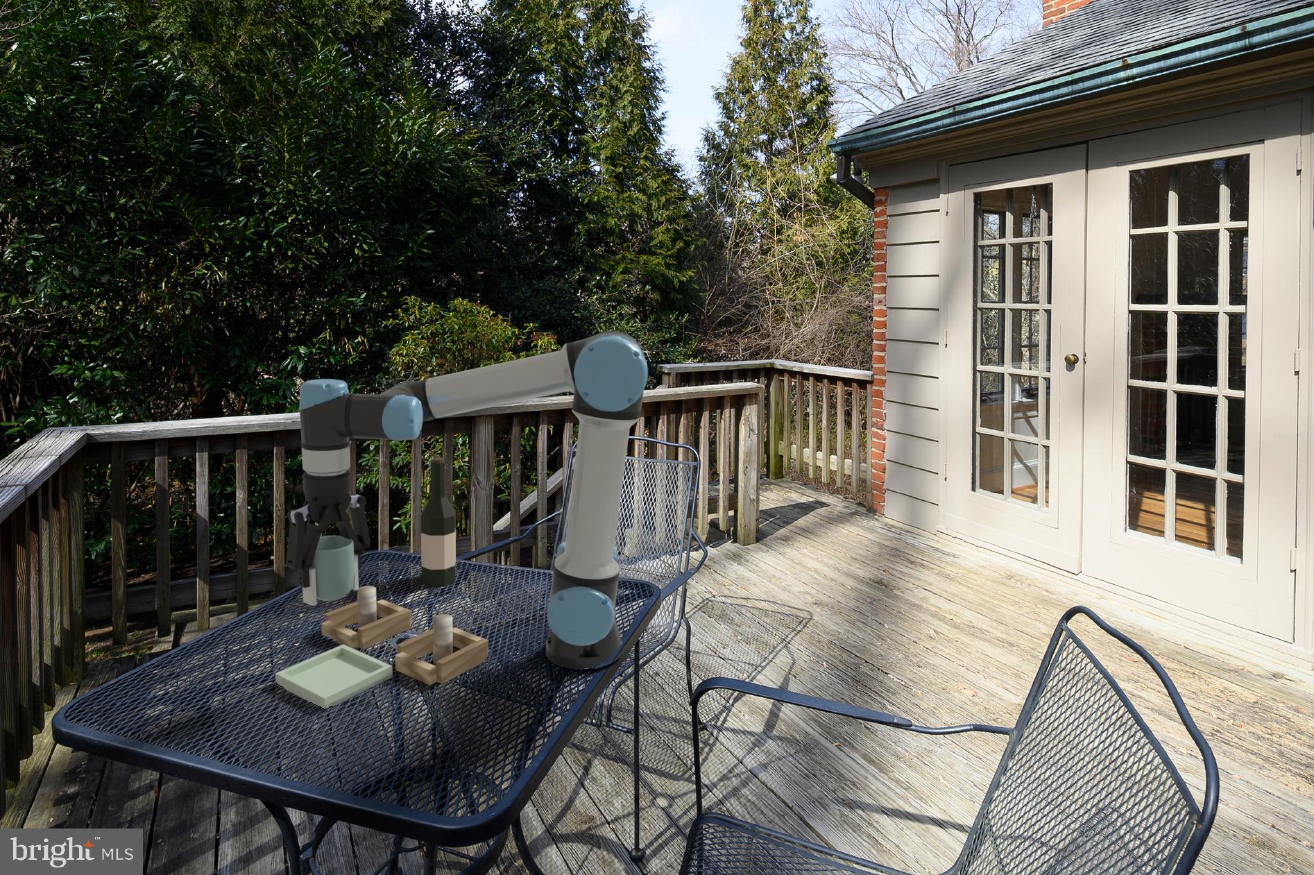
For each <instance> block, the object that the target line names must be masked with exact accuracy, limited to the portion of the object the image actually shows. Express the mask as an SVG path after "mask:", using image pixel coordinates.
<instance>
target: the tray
mask: <svg viewBox="0 0 1314 875" xmlns="http://www.w3.org/2000/svg"><path fill="white" fill-rule="evenodd" d="M274 674H275V677H274V678H275V683H276V682H277V683H278V684H280V685H281V686H283V687H284V688H285V689H286V691H288V692H289V693H291V694H293V695H295V696H296V697H299V698H301V699H303V700H304V701H306V700H307V701H306V702H308V703H310V702H312V703H313V704H312V703H311V704H312V705H314V704H316V705H318V706H321V707H322V708H324V709H325V708H328V707H329V706H333V707H334V706H337V705H339V704H341V703H344V701H347V700H350V699H351V698H353V697H355V696H358V695H360V694H361V693H363V692H365V691H367V690H369V689H371V688H373V687H375V686H377V685H379V684H381V683H384V682H385V681H387V680H389V679H392V678H393V665H390V664H389V663H387V662H384V661H382V660H379V659H377V658H375V657H372V656H371V655H368V654H366V653H364V652H361V651H359V650H357V649H353V648H350V647H348V646H346V645H344V644H343V645H338V646H336V647H334V648H332V649H329V650H327V651H324V652H322V653H320V654H317V655H315V656H313V657H310V658H308V659H306V660H303V661H301V662H298V663H297V664H294V665H291V666H289V667H287V668H285V669H283V670H279V671H278V672H275V673H274ZM285 689H284V690H285ZM316 705H315V706H316ZM318 706H317V707H318ZM322 708H321V709H322ZM324 709H323V710H324Z"/></svg>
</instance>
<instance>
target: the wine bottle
mask: <svg viewBox="0 0 1314 875" xmlns="http://www.w3.org/2000/svg"><path fill="white" fill-rule="evenodd" d="M456 527H457V526H456V509H455V508H454V507H453V505H452V504H451V502H450V501H449V499H448V497H447V495H446V461H444V458H443V457H433V458H432V461H430V498H429V499H428V500H427V502H426V505H425V506H424V508H423V510H422V512H421V513H420V543H421V544H420V550H421V551H420V554H421V555H420V556H421V562H420V564H421V584H424V585H426V586H429V587H446V586H448V585H450V584H451V585H452V584H454V583H455V582H456V579H455V576H456V575H457V571H456V570H457V569H456V568H457V566H456V565H457V561H456V560H457V557H456V554H457V552H456V551H457V548H456V544H457V543H456V540H457V539H456V537H457V536H456ZM456 577H457V576H456ZM454 581H455V582H454Z"/></svg>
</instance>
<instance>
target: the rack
mask: <svg viewBox="0 0 1314 875" xmlns="http://www.w3.org/2000/svg"><path fill="white" fill-rule="evenodd" d="M356 594H357V600H356V601H354V602H352V603H350V604H347V605H344V606H342V607H339V608H337V609H334V610H331V611H328V612H326V613H324V614H323V618H324V619H323V620H324V622H322V623H321V636H322V635H324V636H328V637H329V638H332V639H333V640H335V641H337V642H338V643H339V644H340V645H339V644H338V645H339V646H341V645H343V644H344V645H346V646H348V647H350V648H353V649H355V650H357V649H358V648H359V649H362V650H365V649H367V648H369V647H371V646H374V645H376V644H378V643H380V642H383V641H385V640H387V639H389V638H392V637H394V636H397V635H399V634H401V633H403V632H405V631H407V630H410V629H411V625H412V623H413V622H412V621H413V620H412V610H411V609H408V608H405V607H402V606H401V605H398V604H395V603H392V602H389V601H387V600H385V599H380V600H378V601H377V587H375V586H373V585H366V586H365V585H364V586H360V587H359V589H358V590H356ZM378 617H380V619H378ZM453 618H454V617H453V616H452V615H450V614H445V613H444V614H442V613H441V614H437V615H434V617H433V618H432V628H431V629H430V630H427V631H425V632H422V633H421V634H418V635H416V636H414V637H412V638H410V639H409V638H408V639H407V640H405V641H403V642H401V643H398V644H397V646H396V649H397V650H396V652H397V653H396V654H395V671H397V672H399V673H402V674H403V675H406V676H409V677H411V678H412V679H415V680H418V681H420V682H422V681H423V682H422V683H424V684H426V685H428V686H432V685H433V684H435V683H439V684H441V685H443V684H445V683H447V682H449V681H452V680H453V679H454V678H456V677H458V676H460V675H461V674H464V673H465V672H467V671H469V670H471V669H473V668H474V667H476V666H478V665H480V664H482V663H484V662H486V661H485V659H486V658H487V657H488V658H489V656H488V655H489V640H488V639H486V638H483V637H480V636H479V635H475V634H473V633H470V632H467V631H465V630H462V629H460V628H458V627H453V620H454V619H453ZM353 623H355V624H357V625H358V628H357V631H354V630H352V629H350V628H348V627H346V628H345V627H344V626H346V625H350V626H352V625H351V624H353ZM353 625H354V624H353ZM453 647H454V648H455V647H456V648H458V650H457V651H455V652H453V651H454V650H453V649H454V648H453ZM431 652H432V653H431ZM429 653H430V654H432V655H433V657H432V658H433V659H432V660H433V661H432V662H433V664H432V663H429V662H427V661H424V660H422V659H421V658H419V659H418V658H415V657H420V656H423V655H425V654H427V655H429ZM425 656H426V655H425ZM423 657H424V656H423Z"/></svg>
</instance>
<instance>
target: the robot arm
mask: <svg viewBox="0 0 1314 875" xmlns="http://www.w3.org/2000/svg"><path fill="white" fill-rule="evenodd" d="M648 376H649V370H648V364H647V360H646V358H645V353H644V350H643V349H642V346H641V345H640V343H639V342H638V340H636V339H635V338H634V337H632V336H631V335H630V334H628V333H626V332H623V331H619V330H618V331H617V330H607V331H603V332H599V333H597V334H594V335H593V336H589V337H586V338H584V339H580V340H576V341H573V342H569V343H568V342H567V343H565V344H564V345H563V346H562V348H561V349H560V350H556V351H552V352H547V353H542V354H539V355H538V354H537V355H533V356H529V357H524V358H518V359H513V360H510V361H505V362H501V363H495V364H491V365H485V366H480V367H476V368H471V369H467V370H464V371H463V370H462V371H458V372H452V373H449V374H444V375H443V374H442V375H439V376H434V377H429V378H427V379H421V380H420V379H419V380H415V381H414V380H411V381H410V380H407V381H403V382H399V383H397V384H396V385H393V386H392V387H391V388H389V389H387V390H386V391H383V392H382V393H380V394H373V393H372V394H370V393H369V394H367V393H365V394H364V393H353V392H349V389H348V388H349V387H348V384H347V382H346V381H344V380H341V379H333V378H332V379H331V378H321V379H310V380H307V381H304V382H303V383H301V385H300V387H299V407H298V411H299V420H300V435H301V436H300V438H301V458H302V463H301V464H302V470H303V471H304V472H303V474H302V486H303V487H302V488H303V494H304V497H305V499H304V500H305V501H304V503H303V507H300V508H297V509H288V512H287V517H288V520H289V531H288V539H287V547H286V548H287V551H286V559H285V566H286V567H288V568H290V569H293V570H295V571H297V578H298V579H297V582H298V586H299V587H300V588H302V602H303V603H305V604H308V605H309V606H312V607H313V606H316V605H318V604H317V603H318V602H317V600H318V599H317V598H316V574H315V569H314V568H312V567H311V565H312V562H313V559H314V555H315V551H316V549H317V546H318V543H319V540H320V537H322V533H323V532H325V529H326V527H327V526H329V525H330V524H332V523H335V525H336V527H337V529H338V531H339V533H340V536H342V537H344V538H346V539H352V540H353V543H354V561H355V569H354V581H353V586H352V589H351V590H353V591H357V590H358V589H359V588H360V587H359V584H360V583H359V570H361V568H362V557H361V556H362V555H364V554H365V552H366V549H367V548H369V547H371V539H370V533H369V528H368V523H367V522H368V521H367V515H366V510H365V506H366V497H365V496H363V495H359V494H356V493H353V494H352V495H351V494H350V491H351V489H352V486H351V485H352V483H351V482H352V481H351V471H350V470H349V469H350V468H351V457H350V456H351V455H350V454H351V452H350V451H351V450H350V439H370V440H371V439H372V440H389V441H394V442H399V441H410V440H411V441H413V440H416V439H417V438H418V437H419V435H420V434H421V431H422V429H423V422H428V421H433V420H435V419H438V418H443V417H448V416H455V415H459V414H463V413H469V412H474V411H477V410H483V409H488V408H493V407H498V406H503V405H507V404H511V403H516V402H517V403H518V402H522V401H527V400H532V399H537V398H541V397H546V396H550V395H556V394H562V393H566V392H571V393H573V400H572V406H571V407H572V408H571V411H572V413H573V414H574V415H575V417H576V418H577V419H578V421H579V426H578V434H577V443H576V452H575V459H574V467H573V476H572V485H571V492H570V493H571V494H570V502H569V510H568V519H567V527H566V534H565V535H566V537H565V541H563V542H561V543H560V544H559V545H558V547H557V552H556V555H555V559H554V564H553V571H552V572H553V573H552V581H551V588H550V597H549V602H548V603H547V607H546V616H547V617H546V618H547V624H548V625H549V629H550V630H549V633H548V634H547V635H548V636H547V639H546V642H545V654H546V657H547V658H548V660H549V661H550V662H551V663H553V665H556V666H559V667H561V668H564V667H565V669H567V668H569V669H568V670H572V669H575V670H574V671H580V670H579V669H584V668H592V667H595V666H597V665H600V664H601V663H603V662H604V661H606V660H607V659H609V657H611V656H612V655H613V654H614V653H615V652H616V650H618V648H619V647H620V645H621V644H622V645H623V641H622V638H621V635H620V632H619V629H618V628H619V627H618V624H617V621H616V617H617V614H616V613H617V612H616V603H617V602H616V601H617V594H618V586H619V577H620V571H621V570H620V569H621V567H620V564H619V563H618V562H617V561H618V559H619V558H618V551H617V550H618V549H617V547H616V545H615V544H616V536H617V535H616V534H617V528H618V520H619V515H620V514H619V512H620V505H621V498H622V491H623V490H622V489H623V482H624V475H625V474H624V473H625V467H626V458H627V452H628V443H629V437H630V429H631V427H632V426H633V425H635V424H636V423H637V422H638V421H640V420H641V413H642V405H643V400H644V392H645V387H646V385H647V384H648ZM349 508H350V510H349V512H350V515H351V516H349V514H348V512H347V511H348V509H349ZM307 516H308V518H307ZM350 517H351V518H350ZM351 520H352V524H351ZM306 521H307V522H306Z"/></svg>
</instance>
